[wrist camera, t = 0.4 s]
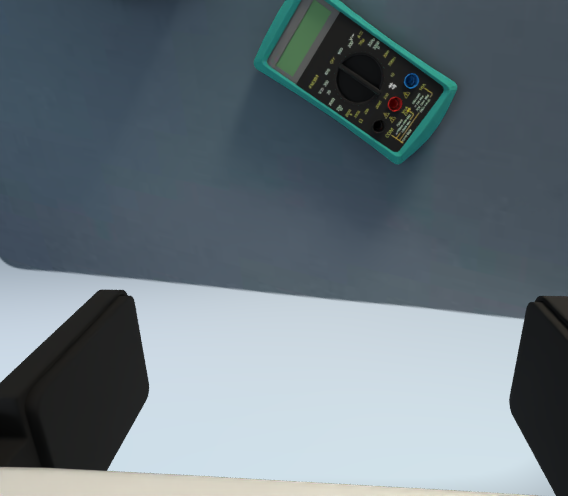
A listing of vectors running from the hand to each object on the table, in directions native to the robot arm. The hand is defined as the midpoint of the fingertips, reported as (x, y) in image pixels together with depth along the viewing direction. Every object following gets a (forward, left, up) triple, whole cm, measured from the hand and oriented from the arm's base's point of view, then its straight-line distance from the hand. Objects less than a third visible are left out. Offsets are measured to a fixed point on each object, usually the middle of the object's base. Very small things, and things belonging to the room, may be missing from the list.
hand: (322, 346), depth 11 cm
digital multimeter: (-6, +2, -30) cm, 30 cm away
